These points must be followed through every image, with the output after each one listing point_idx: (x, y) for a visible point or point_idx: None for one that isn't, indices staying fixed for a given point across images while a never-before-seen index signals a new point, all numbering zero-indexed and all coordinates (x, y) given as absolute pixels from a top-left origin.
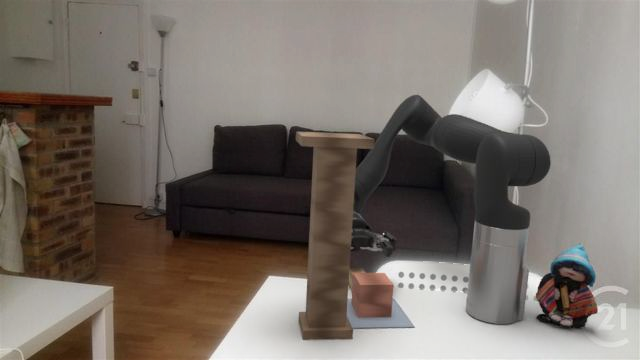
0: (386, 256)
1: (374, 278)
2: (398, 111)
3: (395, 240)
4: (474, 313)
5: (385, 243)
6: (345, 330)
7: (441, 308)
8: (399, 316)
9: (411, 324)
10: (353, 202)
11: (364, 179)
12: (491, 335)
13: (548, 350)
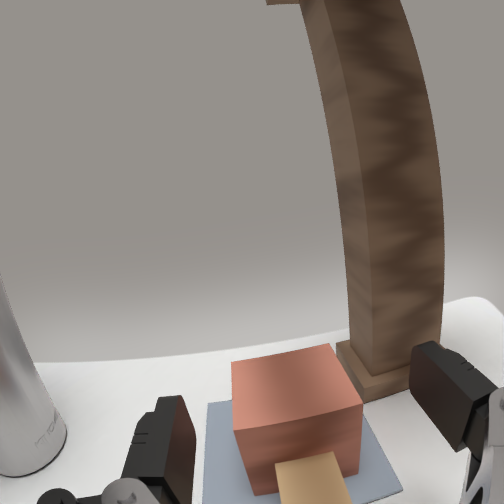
0: (195, 440)
1: (283, 384)
2: None
3: (59, 492)
4: (62, 426)
5: (167, 431)
6: (349, 340)
7: (95, 476)
8: (226, 434)
9: (211, 409)
10: (321, 92)
11: None
12: (89, 392)
13: (57, 367)
